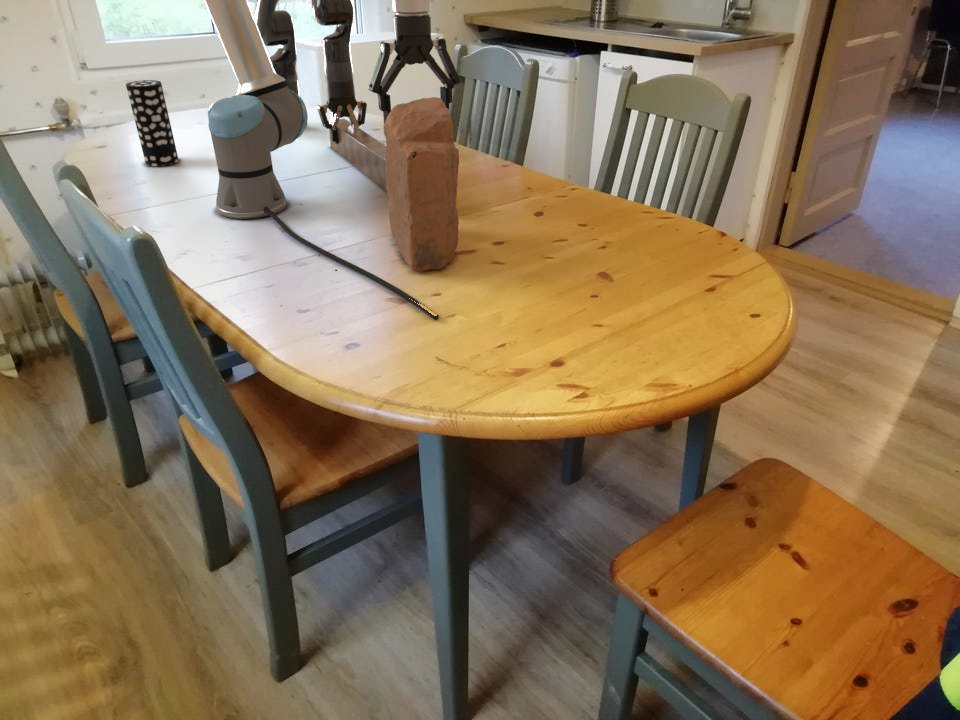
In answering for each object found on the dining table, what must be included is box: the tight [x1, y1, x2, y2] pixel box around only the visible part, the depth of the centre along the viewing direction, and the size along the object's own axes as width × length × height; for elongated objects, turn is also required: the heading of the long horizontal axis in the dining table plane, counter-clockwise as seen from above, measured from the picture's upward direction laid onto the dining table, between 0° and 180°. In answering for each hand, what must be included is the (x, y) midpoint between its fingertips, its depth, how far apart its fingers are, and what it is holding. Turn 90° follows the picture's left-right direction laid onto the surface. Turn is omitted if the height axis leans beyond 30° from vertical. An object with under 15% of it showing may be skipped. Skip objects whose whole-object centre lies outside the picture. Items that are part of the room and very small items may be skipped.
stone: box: [383, 96, 460, 272], centre depth 131 cm, size 22×11×28 cm, turn 18°
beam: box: [328, 118, 387, 192], centre depth 176 cm, size 62×5×8 cm, turn 29°
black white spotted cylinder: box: [125, 79, 179, 167], centre depth 181 cm, size 8×8×20 cm
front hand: (417, 122), depth 150 cm, fingers open, 13 cm apart
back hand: (345, 141), depth 195 cm, fingers closed on beam, 5 cm apart
